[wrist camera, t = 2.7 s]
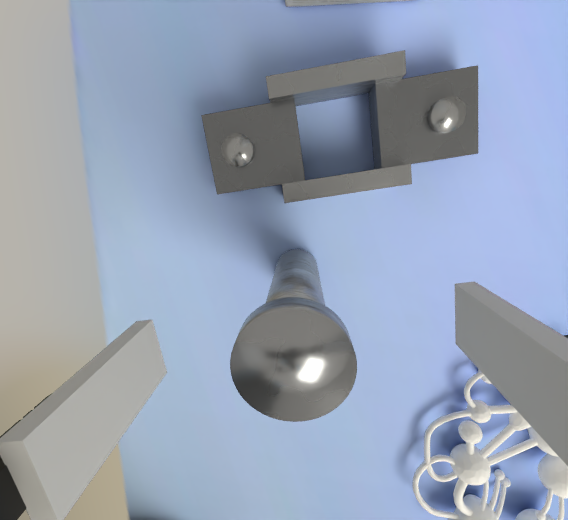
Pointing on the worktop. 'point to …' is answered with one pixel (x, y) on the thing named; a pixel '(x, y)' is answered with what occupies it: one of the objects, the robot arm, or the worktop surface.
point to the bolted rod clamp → (384, 126)
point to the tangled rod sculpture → (489, 463)
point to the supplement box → (330, 2)
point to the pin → (294, 347)
